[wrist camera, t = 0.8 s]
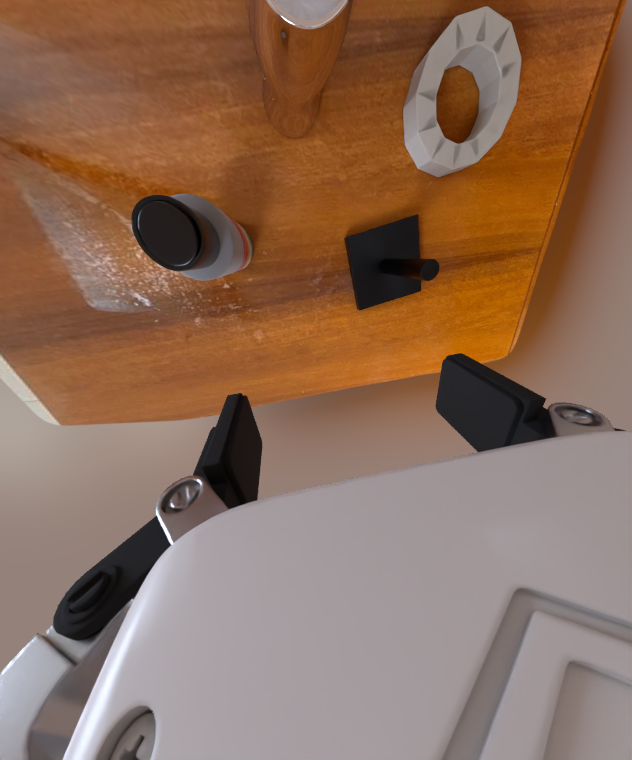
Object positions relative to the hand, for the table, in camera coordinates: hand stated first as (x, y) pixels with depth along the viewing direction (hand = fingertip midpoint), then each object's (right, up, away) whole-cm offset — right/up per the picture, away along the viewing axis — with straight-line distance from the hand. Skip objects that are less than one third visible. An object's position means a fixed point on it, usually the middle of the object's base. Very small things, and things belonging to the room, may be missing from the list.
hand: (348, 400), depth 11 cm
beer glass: (-4, +31, +14) cm, 35 cm away
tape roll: (+14, +33, +16) cm, 39 cm away
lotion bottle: (-13, +19, +20) cm, 30 cm away
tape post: (+8, +18, +23) cm, 30 cm away
